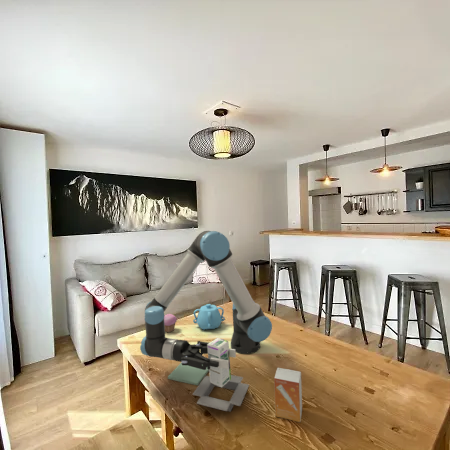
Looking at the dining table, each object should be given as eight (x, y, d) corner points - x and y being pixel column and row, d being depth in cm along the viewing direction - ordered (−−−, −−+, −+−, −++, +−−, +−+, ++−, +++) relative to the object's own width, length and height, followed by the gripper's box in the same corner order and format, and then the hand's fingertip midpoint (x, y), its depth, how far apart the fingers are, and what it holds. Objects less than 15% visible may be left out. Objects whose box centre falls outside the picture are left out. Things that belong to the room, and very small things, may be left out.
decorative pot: (190, 327, 155) (189, 305, 154) (210, 318, 166) (209, 298, 166) (207, 334, 143) (206, 311, 143) (227, 325, 154) (226, 303, 154)
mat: (185, 360, 117) (185, 358, 117) (212, 365, 112) (212, 363, 112) (167, 378, 104) (167, 376, 104) (197, 385, 99) (197, 383, 99)
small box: (275, 417, 82) (273, 377, 82) (278, 403, 88) (277, 366, 88) (301, 423, 79) (299, 382, 79) (302, 408, 85) (301, 371, 85)
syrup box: (222, 388, 88) (219, 347, 87) (209, 382, 91) (206, 343, 91) (231, 379, 92) (229, 340, 92) (218, 374, 96) (216, 336, 96)
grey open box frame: (209, 377, 104) (209, 370, 104) (251, 386, 97) (251, 378, 97) (188, 409, 87) (187, 400, 87) (237, 422, 80) (236, 413, 80)
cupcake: (170, 326, 156) (169, 310, 156) (180, 329, 151) (179, 313, 151) (159, 332, 149) (158, 315, 149) (168, 335, 144) (168, 318, 144)
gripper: (189, 346, 107) (240, 354, 99) (162, 374, 89) (222, 386, 81) (188, 329, 107) (239, 336, 99) (161, 353, 89) (220, 363, 81)
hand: (231, 358), depth 90 cm, fingers closed on syrup box, 7 cm apart
